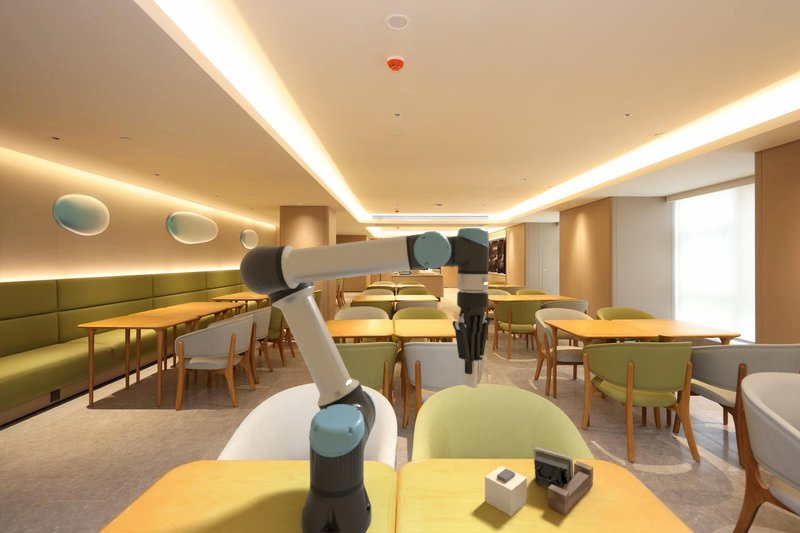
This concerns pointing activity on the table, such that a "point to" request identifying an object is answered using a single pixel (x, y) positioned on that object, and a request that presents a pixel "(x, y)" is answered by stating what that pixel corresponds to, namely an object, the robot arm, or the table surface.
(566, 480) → the electrical switch
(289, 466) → the table surface
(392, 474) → the table surface
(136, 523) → the table surface
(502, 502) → the socket block
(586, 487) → the bracket
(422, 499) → the table surface
